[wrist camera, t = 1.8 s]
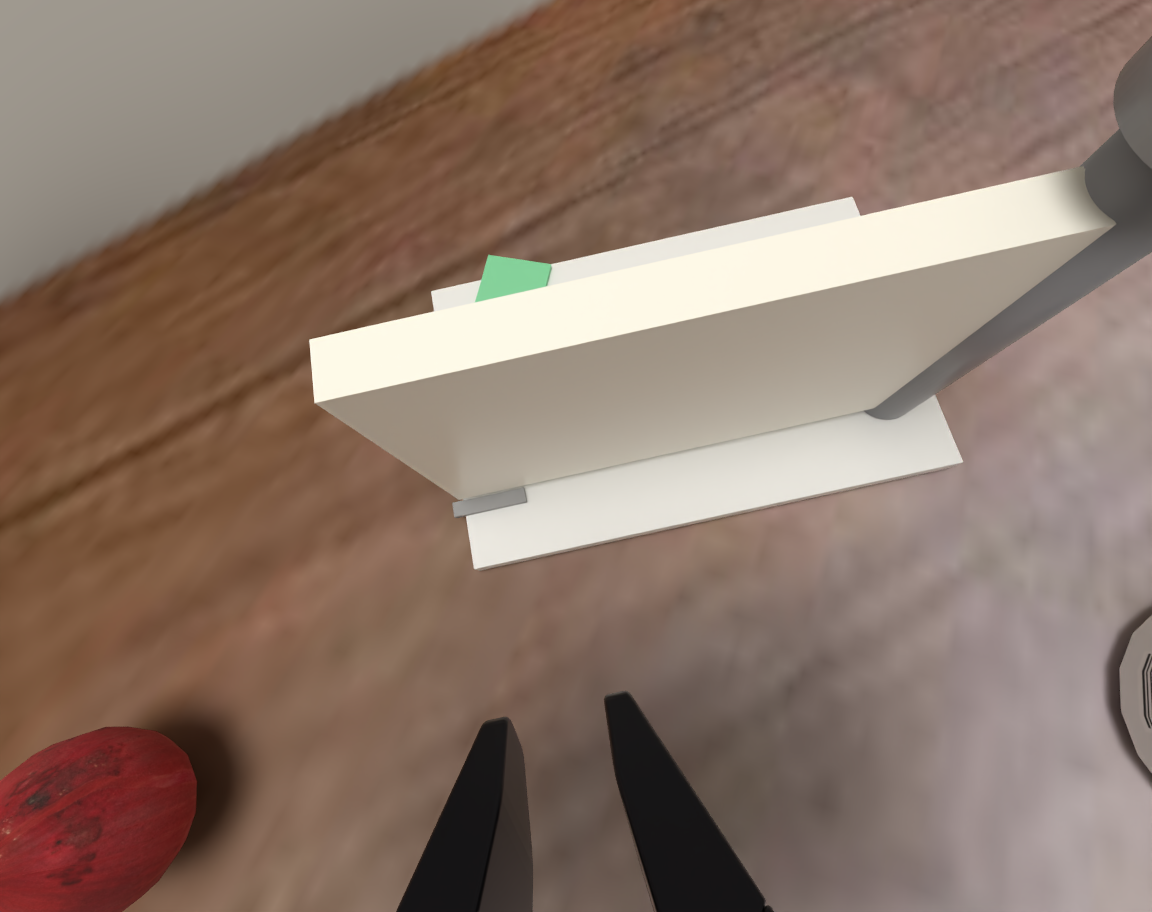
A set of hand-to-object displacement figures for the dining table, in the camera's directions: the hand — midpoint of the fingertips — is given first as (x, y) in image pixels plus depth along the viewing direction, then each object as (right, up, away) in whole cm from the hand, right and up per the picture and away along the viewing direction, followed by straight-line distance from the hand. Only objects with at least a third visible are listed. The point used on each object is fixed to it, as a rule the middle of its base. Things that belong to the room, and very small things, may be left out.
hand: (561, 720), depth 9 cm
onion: (-16, -9, +13) cm, 22 cm away
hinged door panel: (+5, +5, +14) cm, 16 cm away
